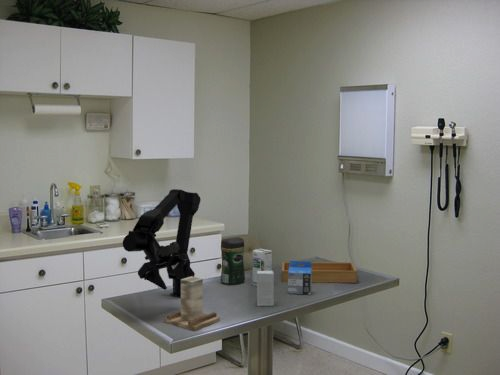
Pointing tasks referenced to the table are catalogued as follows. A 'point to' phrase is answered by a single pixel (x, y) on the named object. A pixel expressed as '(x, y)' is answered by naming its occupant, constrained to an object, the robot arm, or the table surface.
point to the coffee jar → (232, 261)
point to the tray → (327, 272)
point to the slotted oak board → (192, 321)
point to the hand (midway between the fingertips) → (175, 286)
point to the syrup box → (261, 262)
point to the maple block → (191, 298)
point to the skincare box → (265, 288)
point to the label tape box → (299, 277)
